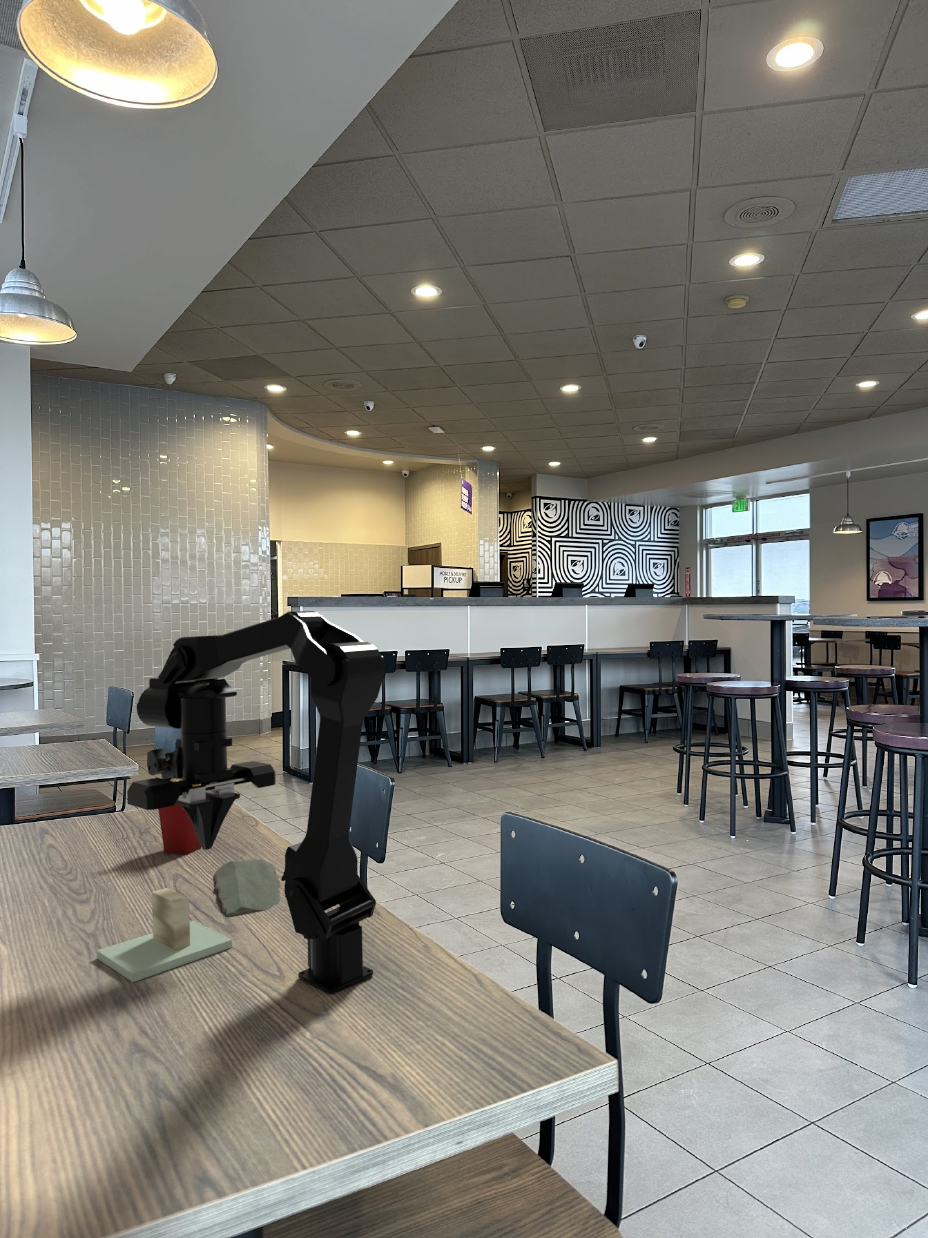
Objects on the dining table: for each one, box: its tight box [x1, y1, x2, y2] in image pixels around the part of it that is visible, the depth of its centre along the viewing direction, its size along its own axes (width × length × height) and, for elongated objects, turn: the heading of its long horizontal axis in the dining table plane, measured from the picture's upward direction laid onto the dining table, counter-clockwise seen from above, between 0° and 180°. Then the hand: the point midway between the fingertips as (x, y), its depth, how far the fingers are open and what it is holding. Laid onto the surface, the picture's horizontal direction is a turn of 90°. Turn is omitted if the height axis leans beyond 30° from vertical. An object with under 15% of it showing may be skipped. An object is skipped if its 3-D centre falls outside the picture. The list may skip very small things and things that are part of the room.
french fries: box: [157, 778, 202, 856], centre depth 149 cm, size 9×8×15 cm
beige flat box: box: [151, 887, 191, 950], centre depth 104 cm, size 6×2×6 cm, turn 47°
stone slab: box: [212, 859, 282, 918], centre depth 127 cm, size 22×3×10 cm
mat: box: [96, 920, 233, 983], centre depth 103 cm, size 10×13×1 cm
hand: (206, 849), depth 107 cm, fingers closed
